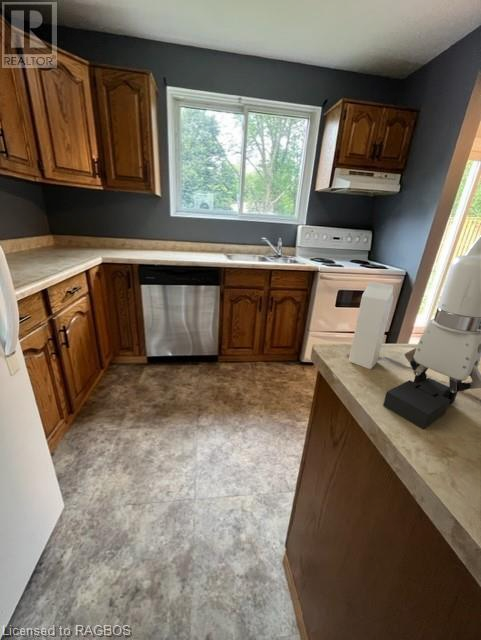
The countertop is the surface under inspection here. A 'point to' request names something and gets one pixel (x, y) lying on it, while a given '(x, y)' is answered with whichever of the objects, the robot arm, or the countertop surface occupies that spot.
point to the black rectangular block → (432, 387)
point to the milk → (371, 324)
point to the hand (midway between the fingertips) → (430, 396)
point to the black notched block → (415, 404)
